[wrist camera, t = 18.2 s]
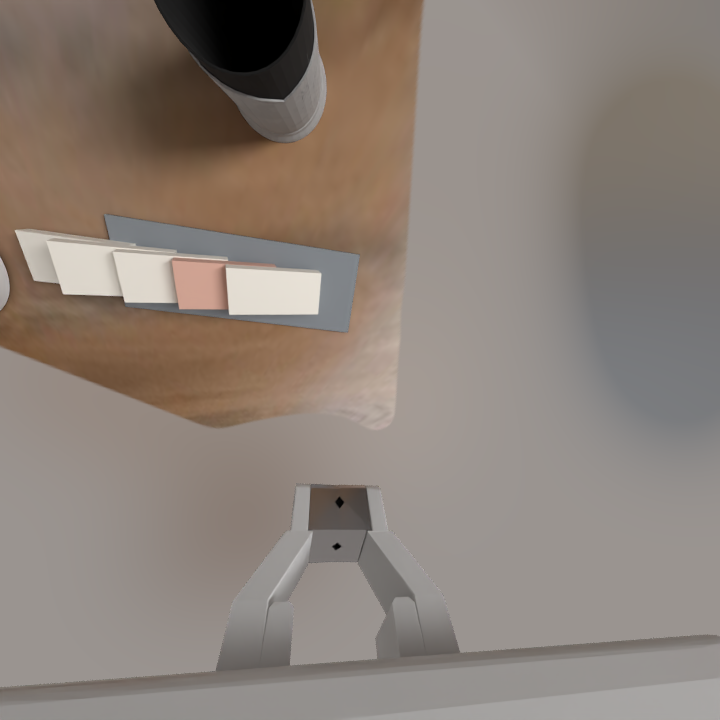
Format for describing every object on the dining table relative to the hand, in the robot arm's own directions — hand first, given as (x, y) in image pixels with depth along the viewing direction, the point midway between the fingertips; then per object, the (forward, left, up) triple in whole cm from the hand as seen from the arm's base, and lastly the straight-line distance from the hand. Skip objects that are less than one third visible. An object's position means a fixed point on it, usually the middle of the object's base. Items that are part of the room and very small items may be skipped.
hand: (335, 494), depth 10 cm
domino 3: (-12, -1, -28) cm, 30 cm away
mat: (-11, -1, -29) cm, 31 cm away
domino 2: (-17, -1, -28) cm, 33 cm away
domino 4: (-7, -1, -28) cm, 29 cm away
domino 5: (-2, -1, -28) cm, 28 cm away
